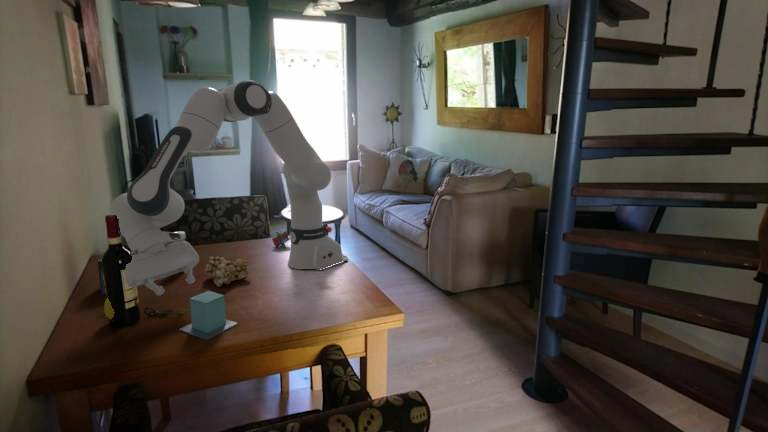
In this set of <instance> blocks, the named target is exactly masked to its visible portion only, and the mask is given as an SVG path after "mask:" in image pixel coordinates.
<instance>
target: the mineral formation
mask: <svg viewBox="0 0 768 432" xmlns="http://www.w3.org/2000/svg"><path fill="white" fill-rule="evenodd" d="M248 266H249V261H248V260H244V259H242V258H237V259H236V260H235V261H231V260H227V259H225V257H222V256H221V257H220V256H215V257H214V256H210V257H209V258H208V259H207V264H205V269H204V273H205V275H208V276H209V277H212V278H213V283H214V284H215V285H216V287H219V288H220V287H222V286H223V285H225V284H226V285H229V284H230V283H231V282H234V281H240V280H243V279H244V278H246V275H250V274H252V270H249V268H247V267H248Z"/></svg>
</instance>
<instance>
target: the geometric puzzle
mask: <svg viewBox="0 0 768 432" xmlns="http://www.w3.org/2000/svg"><path fill="white" fill-rule="evenodd" d="M280 232H281V233H280ZM275 235H276V236H274V237H272V243H273V245H274V247H275V249H278V248H280V247H284V248H287V245H286V243H288V242H289V241H291V240H290V234H288V233H287V231H283V232H282V231H279V232H278V231H275Z"/></svg>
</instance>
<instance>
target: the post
mask: <svg viewBox="0 0 768 432" xmlns="http://www.w3.org/2000/svg"><path fill="white" fill-rule="evenodd" d="M238 325H239V323H238V322H236V321H232V320H229V319H226V324H225V325H223V326H221V327H219V328H217V329H215V330H213V331H211V332H209V333H206V332H203V331H201V330H198V329H195V328H192V322H191V323H190V324H187V325H185V326H183V327H181V328H179V331H180V332H182V333H186V334H189V335H191V336H194V337H197V338H199V339H201V340H204V341H209V340H210V339H213V338H214V337H217V336H218V335H220V334H222V333H224V332H226V331H228V330H230V329H232V328H234V327H236V326H238Z"/></svg>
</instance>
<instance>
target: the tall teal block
mask: <svg viewBox="0 0 768 432" xmlns="http://www.w3.org/2000/svg"><path fill="white" fill-rule="evenodd" d="M189 304H190V318H191V319H190V320H191V323H192V328H195V329H198V330H201V331H203V332H206V333H209V332H211V331H213V330H215V329H217V328H219V327H221V326H223V325H225V324H226V320H227V319H226V305H225V304H226V302H225V295H224V294H221V293H217V292H214V291H211V290H207V291H205V292H202V293H199V294H197V295H194V296H192V297H190V298H189Z"/></svg>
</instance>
